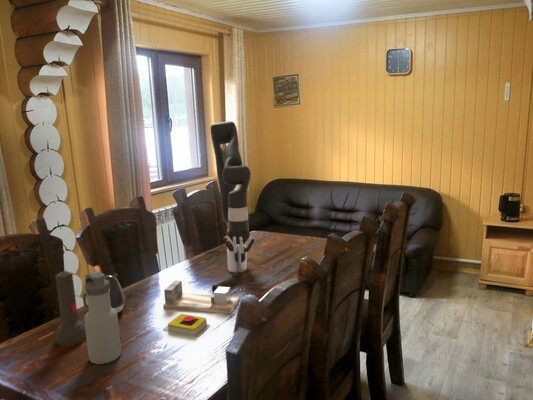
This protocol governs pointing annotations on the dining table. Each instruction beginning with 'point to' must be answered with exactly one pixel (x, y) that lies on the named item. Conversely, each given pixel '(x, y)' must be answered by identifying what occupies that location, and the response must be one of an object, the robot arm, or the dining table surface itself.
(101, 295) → the water bottle
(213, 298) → the drag pointer
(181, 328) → the emergency button
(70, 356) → the dining table surface
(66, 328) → the flashlight
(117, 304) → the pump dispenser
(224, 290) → the light grey cube
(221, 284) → the hand tool
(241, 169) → the robot arm
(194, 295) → the base
